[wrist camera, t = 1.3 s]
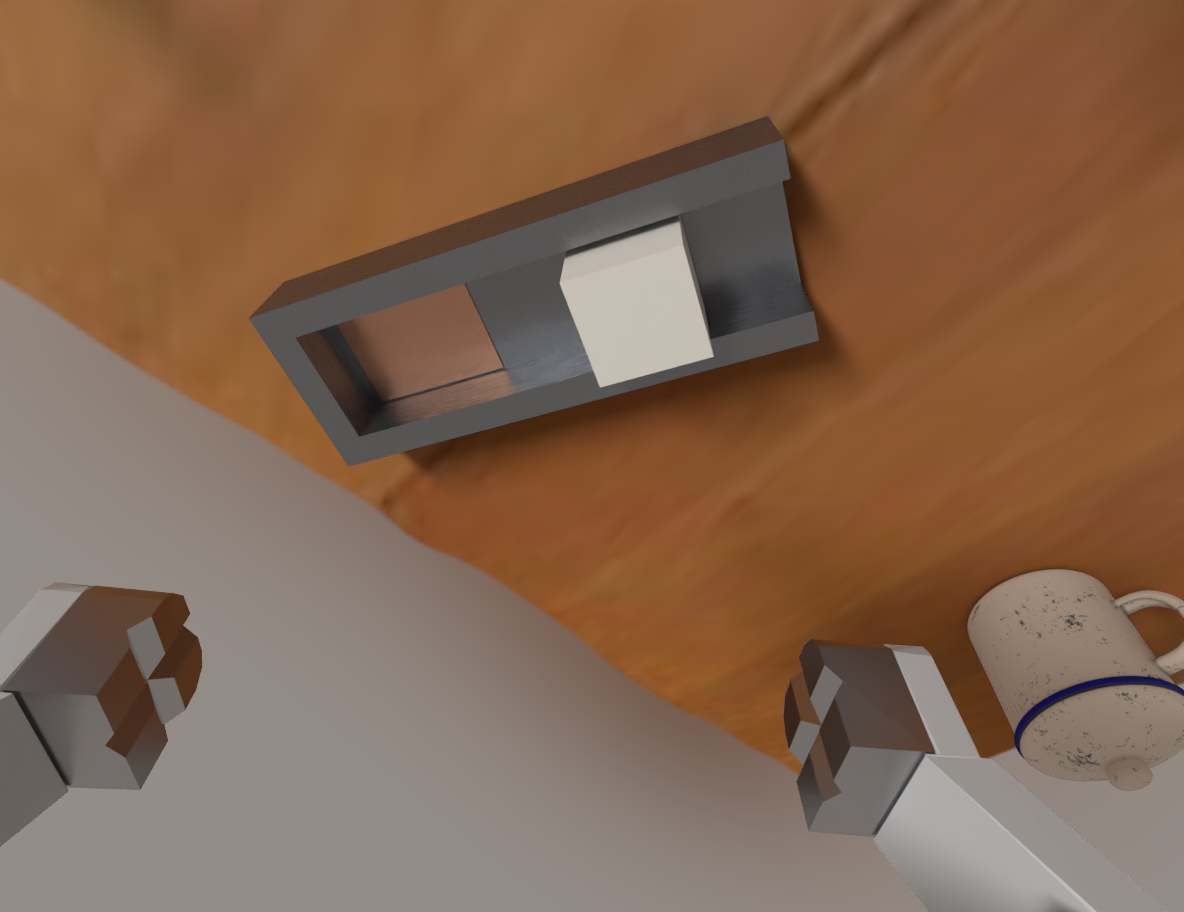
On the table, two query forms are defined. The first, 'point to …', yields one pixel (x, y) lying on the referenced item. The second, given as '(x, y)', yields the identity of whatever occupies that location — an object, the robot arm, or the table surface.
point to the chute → (533, 299)
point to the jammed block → (637, 302)
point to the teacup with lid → (1080, 676)
